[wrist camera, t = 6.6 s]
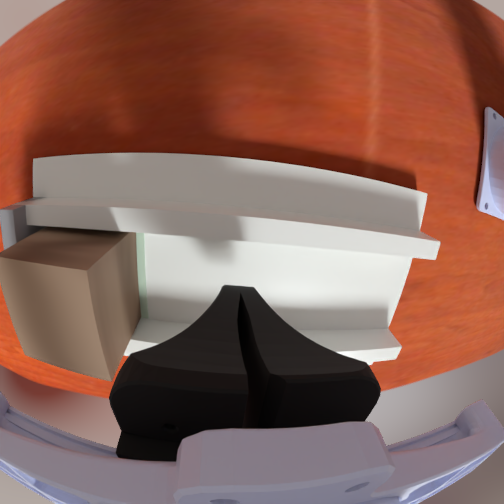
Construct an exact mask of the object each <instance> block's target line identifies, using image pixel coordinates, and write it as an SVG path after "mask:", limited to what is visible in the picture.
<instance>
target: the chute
mask: <svg viewBox="0 0 504 504" xmlns="http://www.w3.org/2000/svg"><path fill="white" fill-rule="evenodd" d="M426 199H427V193H423V192H420V191H416V190H413V189H409V188H405V187H402V186H398V185H394V184H390V183H386V182H381V181H377V180H373V179H368V178H364V177H359V176H355V175H350V174H345V173H340V172H334V171H329V170H323V169H318V168H312V167H306V166H299V165H293V164H286V163H279V162H271V161H263V160H254V159H245V158H235V157H224V156H211V155H196V154H175V153H98V154H79V155H65V156H53V157H43V158H35V159H33V198H30V199H27V200H24V201H21V202H19V203H16V204H13V205H10V206H8V207H5V208H2V209H0V222H1V231H2V238H3V245H4V250H5V249H7V248H9V247H10V246H12V245H14V244H16V243H17V242H19V241H21V240H23V239H25V238H26V237H28V236H30V235H32V234H34V233H36V232H38V231H39V230H41V229H43V228H45V227H47V226H52V227H67V228H81V229H96V230H110V231H123V232H136V247H137V270H138V285H139V298H140V308H141V319H140V321H139V323H138V325H137V327H136V329H135V331H134V333H133V335H132V337H131V339H130V342H129V344H128V346H127V348H126V350H125V352H124V355H125V356H129V355H130V354H131V353H134V352H137V351H140V350H143V349H147V348H150V347H153V346H155V345H158V344H160V343H162V342H164V341H166V340H168V339H170V338H172V337H174V336H176V335H177V334H179V333H180V332H182V331H183V330H185V329H186V328H188V327H189V326H190V325H191V324H193V323H194V322H195V321H196V320H197V319H198V318H199V317H200V316H201V315H202V314H203V313H204V312H205V311H206V310H207V309H208V308H209V306H210V305H211V304H212V303H213V301H214V300H215V299H216V297H217V296H218V294H219V292H220V290H221V288H222V286H224V285H235V286H248V287H254V288H255V289H256V290H257V292H258V293H259V294H260V295H261V297H262V298H263V299H264V300H265V301H266V303H267V304H268V305H269V306H270V307H271V308H272V309H273V310H274V311H275V312H276V313H277V314H278V315H279V316H280V317H281V318H282V319H283V320H284V321H285V322H286V323H288V324H289V325H290V326H291V327H293V328H294V329H295V330H297V331H298V332H300V333H301V334H302V335H304V336H306V337H307V338H309V339H311V340H312V341H314V342H316V343H318V344H319V345H321V346H323V347H325V348H328V349H330V350H332V351H335V352H337V353H339V354H342V355H344V356H348V357H351V358H354V359H357V360H360V361H364V362H367V364H368V365H372V363H373V362H376V361H385V360H393V359H396V358H397V356H398V354H399V352H400V350H401V348H402V346H401V345H400V343H399V342H398V341H397V339H396V338H395V337H394V335H393V334H392V333H391V332H390V330H389V329H388V327H389V325H390V322H391V320H392V317H393V315H394V312H395V309H396V307H397V304H398V301H399V298H400V296H401V293H402V290H403V287H404V284H405V281H406V278H407V275H408V271H409V268H410V265H411V261H412V258H422V259H431V260H436V257H437V253H438V250H439V246H440V241H438V240H436V239H434V238H432V237H430V236H429V235H427V234H425V233H423V232H421V231H420V227H421V223H422V219H423V214H424V209H425V204H426Z"/></svg>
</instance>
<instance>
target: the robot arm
mask: <svg viewBox="0 0 504 504" xmlns="http://www.w3.org/2000/svg"><path fill="white" fill-rule="evenodd" d="M476 206H477V209H478V210H479V211H482V212H484V213H487V214H490V215H492V216H495V217H497V218H500V219H502V220H504V118H503V117H502V116H500V115H499V114H498V113H497V112H496V111H494V110H493V109H492V108H490V107H486V108H485V129H484V148H483V160H482V169H481V177H480V184H479V191H478V197H477V202H476ZM380 391H381V388H380V385H379V383H378V381H377V379H376V377H375V376H374V374H373V372H372V370H371V369H370V367H369V365H368V364H367V362H364V361H360V360H357V359H354V358H351V357H348V356H344V355H342V354H339V353H337V352H335V351H332V350H330V349H328V348H325V347H323V346H321V345H319V344H318V343H316V342H314V341H312V340H311V339H309V338H307V337H306V336H304V335H302V334H301V333H300V332H298V331H297V330H295V329H294V328H293V327H291V326H290V325H289V324H288V323H286V322H285V321H284V320H283V319H282V318H281V317H280V316H279V315H278V314H277V313H276V312H275V311H274V310H273V309H272V308H271V307H270V306H269V305H268V304H267V303H266V301H265V300H264V299H263V298H262V297H261V295H260V294H259V293H258V292H257V290H256V289H255V288H254V287H248V286H235V285H224V286H222V288H221V290H220V292H219V294H218V296H217V297H216V299H215V300H214V301H213V303H212V304H211V305H210V306H209V308H208V309H207V310H206V311H205V312H204V313H203V314H202V315H201V316H200V317H199V318H198V319H197V320H196V321H195V322H194V323H193V324H191V325H190V326H189V327H188V328H186V329H185V330H183V331H182V332H180V333H179V334H177V335H176V336H174V337H172V338H170V339H168V340H166V341H164V342H162V343H160V344H158V345H155V346H153V347H150V348H147V349H143V350H140V351H137V352H134V353H131V354H130V355H129V357H128V358H127V360H126V361H125V363H124V364H123V366H122V368H121V369H120V371H119V373H118V375H117V377H116V380H115V382H114V385H113V387H112V390H111V393H110V396H109V400H110V405H111V408H112V410H113V413H114V415H115V417H116V420H117V422H118V424H119V426H120V429H121V435H120V438H119V442H118V445H117V448H113V447H109V446H106V445H103V444H99V443H96V442H92V441H90V440H87V439H83V438H81V437H78V436H75V435H73V434H70V433H67V432H65V431H62V430H60V429H57V428H55V427H53V426H50V425H48V424H46V423H43V422H41V421H39V420H37V419H35V418H33V417H31V416H29V415H27V414H25V413H23V412H21V411H19V410H17V409H15V408H14V407H12V406H10V405H9V403H8V401H7V399H6V398H5V396H4V395H3V394H2V392H1V391H0V470H2V471H3V472H5V473H6V474H7V475H9V476H10V477H12V478H13V479H15V480H16V481H18V482H19V483H21V484H22V485H24V486H25V487H27V488H29V489H30V490H32V491H34V492H35V493H37V494H39V495H41V496H42V497H44V498H46V499H48V500H50V501H51V502H53V503H55V504H417V503H419V502H421V501H423V500H425V499H427V498H429V497H431V496H432V495H434V494H436V493H438V492H439V491H441V490H443V489H445V488H446V487H448V486H449V485H451V484H453V483H454V482H456V481H457V480H459V479H461V478H462V477H464V476H465V475H467V474H468V473H470V472H471V471H472V470H474V469H475V468H476V467H477V466H478V465H480V464H481V463H482V462H483V461H484V460H485V459H486V458H487V457H489V456H490V455H491V454H492V453H493V452H494V451H495V450H496V449H497V448H498V447H499V446H500V445H501V444H502V443H503V442H504V428H503V427H502V425H501V424H500V422H499V421H498V419H497V418H496V417H495V415H494V414H493V413H492V411H491V410H490V408H489V407H488V406H487V404H486V403H485V402H484V401H483V399H481V400H479V401H477V402H475V403H473V404H471V405H469V406H467V407H466V408H464V409H463V410H462V411H461V412H460V413H459V415H458V416H457V417H456V419H455V421H453V422H451V423H448V424H446V425H444V426H441V427H439V428H437V429H434V430H432V431H429V432H427V433H424V434H421V435H419V436H416V437H413V438H410V439H407V440H404V441H401V442H398V443H395V444H391V445H388V446H386V444H385V442H384V440H383V437H382V435H381V433H380V431H379V429H378V428H377V427H376V426H375V425H374V424H373V423H371V422H364V421H365V420H366V418H367V417H368V416H369V414H370V413H371V411H372V409H373V408H374V406H375V405H376V403H377V401H378V399H379V396H380Z"/></svg>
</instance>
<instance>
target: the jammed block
mask: <svg viewBox="0 0 504 504" xmlns="http://www.w3.org/2000/svg"><path fill="white" fill-rule="evenodd" d="M0 283H1V287H2V291H3V294H4V298H5V301H6V304H7V308H8V311H9V314H10V317H11V320H12V323H13V326H14V328H15V331H16V334H17V336H18V339H19V341H20V344H21V346H22V349H23V351H24V353H25V355H27V356H29V357H32V358H34V359H37V360H40V361H42V362H45V363H48V364H51V365H54V366H57V367H60V368H63V369H66V370H70V371H73V372H76V373H80V374H83V375H87V376H91V377H95V378H99V379H103V380H107V381H111V382H112V380H113V377H114V375H115V373H116V370H117V368H118V366H119V364H120V361H121V359H122V357H123V355H124V352H125V350H126V348H127V346H128V344H129V342H130V339H131V337H132V335H133V333H134V331H135V329H136V327H137V325H138V323H139V321H140V319H141V308H140V298H139V285H138V270H137V247H136V232H123V231H110V230H96V229H81V228H67V227H52V226H47V227H45V228H43V229H41V230H39V231H38V232H36V233H34V234H32V235H30V236H28V237H26V238H25V239H23V240H21V241H19V242H17V243H16V244H14V245H12V246H10V247H9V248H7V249H5V250H4V251H2V252H0Z"/></svg>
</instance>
